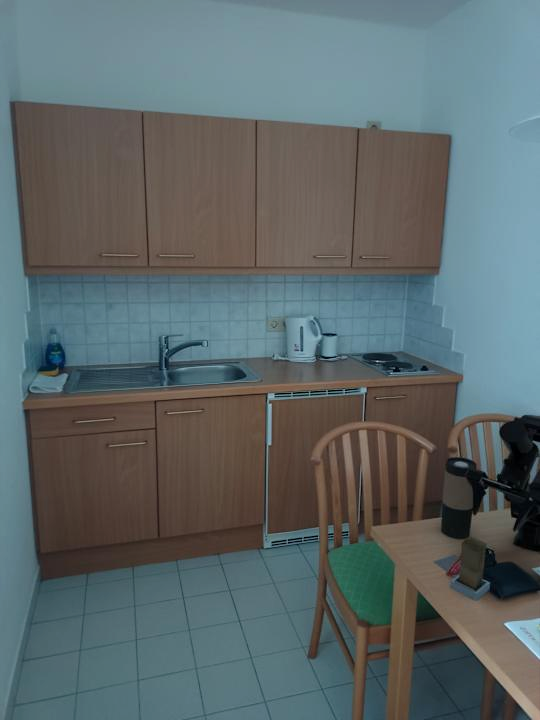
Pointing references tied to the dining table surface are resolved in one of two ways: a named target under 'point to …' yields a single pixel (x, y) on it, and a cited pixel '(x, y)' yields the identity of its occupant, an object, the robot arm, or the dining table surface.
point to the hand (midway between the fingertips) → (493, 522)
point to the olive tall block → (472, 563)
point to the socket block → (469, 591)
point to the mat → (447, 563)
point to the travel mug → (457, 499)
